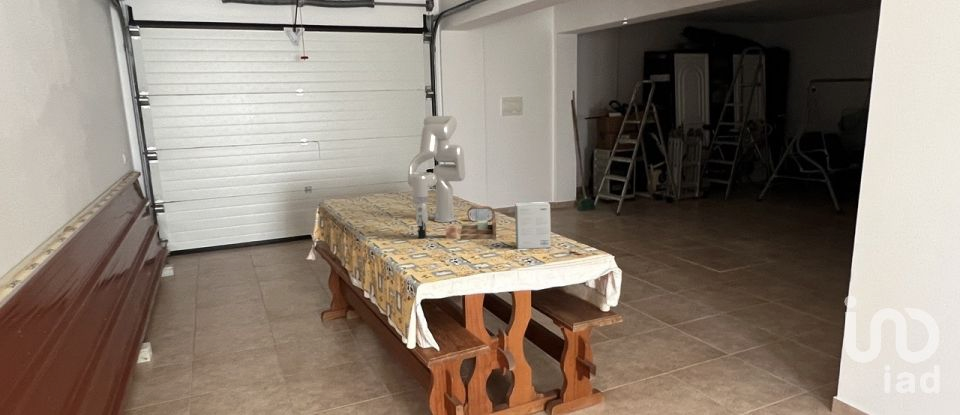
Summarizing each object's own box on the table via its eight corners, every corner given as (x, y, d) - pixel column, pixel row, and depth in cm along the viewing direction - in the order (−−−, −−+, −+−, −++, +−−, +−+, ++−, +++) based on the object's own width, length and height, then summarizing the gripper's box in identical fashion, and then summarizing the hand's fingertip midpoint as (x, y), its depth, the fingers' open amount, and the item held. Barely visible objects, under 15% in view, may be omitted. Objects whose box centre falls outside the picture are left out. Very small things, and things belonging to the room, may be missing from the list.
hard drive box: (548, 243, 273) (548, 201, 269) (551, 248, 265) (551, 204, 261) (515, 244, 272) (514, 202, 268) (516, 249, 265) (516, 205, 261)
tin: (494, 220, 326) (494, 205, 324) (494, 221, 322) (494, 206, 321) (467, 220, 327) (467, 206, 325) (467, 222, 324) (466, 207, 322)
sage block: (477, 232, 299) (477, 222, 298) (478, 230, 304) (477, 220, 303) (487, 232, 299) (487, 222, 298) (487, 230, 304) (487, 220, 303)
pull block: (417, 238, 288) (417, 227, 287) (419, 236, 293) (418, 224, 292) (456, 238, 288) (456, 226, 287) (457, 235, 293) (456, 224, 291)
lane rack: (460, 239, 285) (459, 223, 283) (461, 228, 307) (461, 214, 306) (496, 238, 284) (495, 222, 283) (495, 228, 307) (494, 213, 305)
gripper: (426, 202, 279) (428, 240, 282) (429, 196, 295) (431, 232, 299) (411, 203, 279) (412, 240, 282) (414, 197, 295) (416, 232, 299)
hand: (422, 236), depth 290 cm, fingers closed on pull block, 4 cm apart
